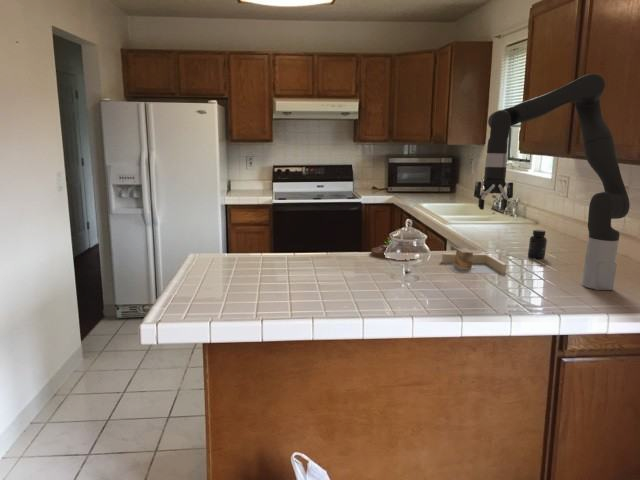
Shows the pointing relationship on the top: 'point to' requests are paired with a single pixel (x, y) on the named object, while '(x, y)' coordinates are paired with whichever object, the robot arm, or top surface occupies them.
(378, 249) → the brown rough-edged lump
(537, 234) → the supplement bottle
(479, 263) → the tray
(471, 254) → the oak block
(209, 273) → the top surface
